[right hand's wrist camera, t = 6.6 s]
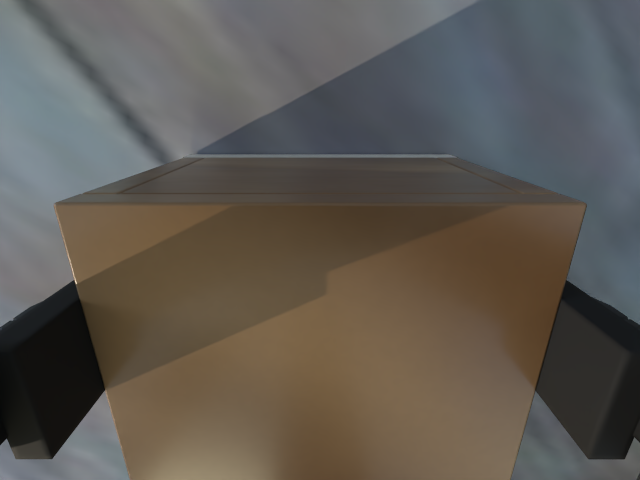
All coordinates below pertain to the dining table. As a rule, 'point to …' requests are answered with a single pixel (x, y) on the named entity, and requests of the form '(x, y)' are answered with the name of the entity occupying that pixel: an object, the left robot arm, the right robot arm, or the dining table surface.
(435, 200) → the cabinet
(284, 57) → the dining table surface
